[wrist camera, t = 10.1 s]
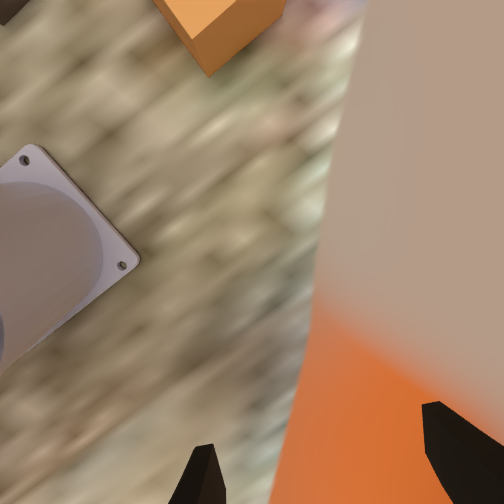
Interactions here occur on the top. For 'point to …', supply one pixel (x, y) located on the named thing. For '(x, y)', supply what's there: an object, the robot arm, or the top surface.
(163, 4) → the orange block
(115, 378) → the top surface
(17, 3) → the pocket holder
